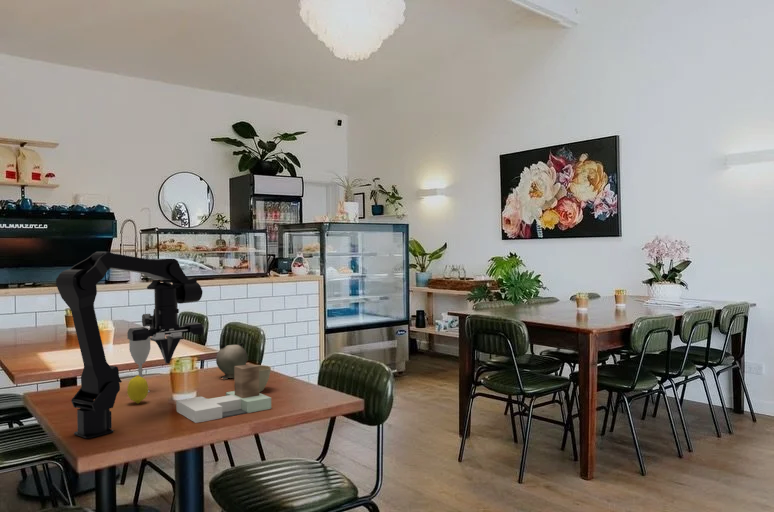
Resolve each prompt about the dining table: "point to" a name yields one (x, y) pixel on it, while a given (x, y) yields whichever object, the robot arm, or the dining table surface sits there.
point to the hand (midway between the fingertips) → (167, 363)
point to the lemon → (137, 389)
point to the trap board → (221, 406)
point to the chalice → (140, 352)
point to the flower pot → (263, 376)
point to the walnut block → (246, 380)
